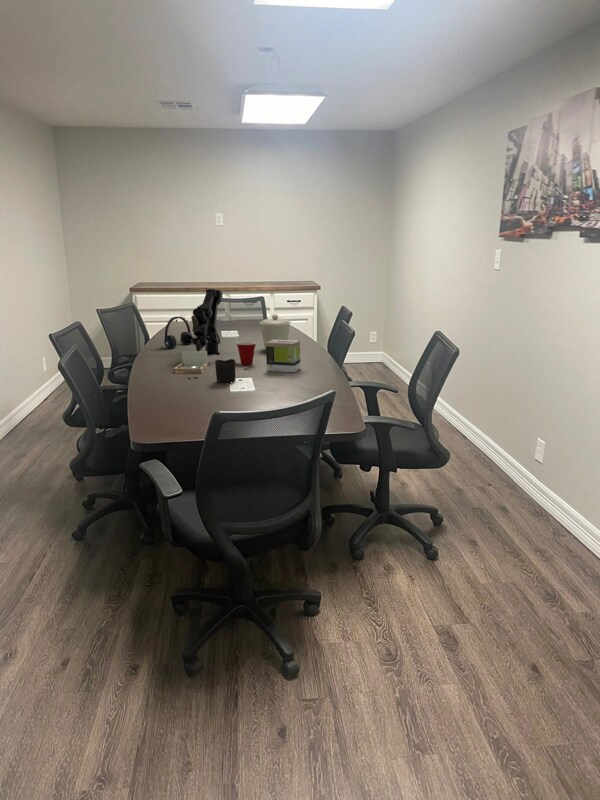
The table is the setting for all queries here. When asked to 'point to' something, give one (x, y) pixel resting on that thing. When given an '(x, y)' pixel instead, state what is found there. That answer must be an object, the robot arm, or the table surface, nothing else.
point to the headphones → (170, 339)
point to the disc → (191, 367)
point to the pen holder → (225, 371)
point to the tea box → (283, 355)
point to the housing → (178, 370)
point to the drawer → (194, 358)
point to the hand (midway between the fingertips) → (197, 352)
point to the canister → (275, 329)
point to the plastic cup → (246, 352)
